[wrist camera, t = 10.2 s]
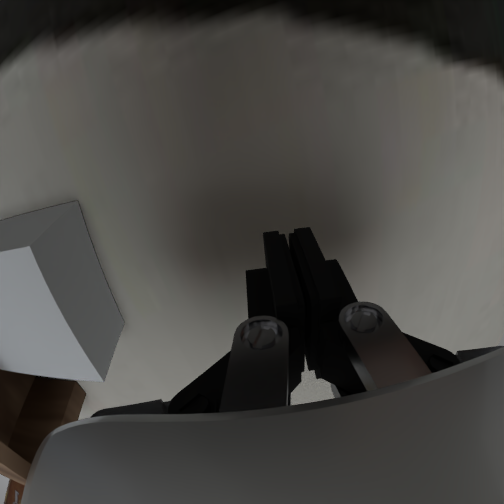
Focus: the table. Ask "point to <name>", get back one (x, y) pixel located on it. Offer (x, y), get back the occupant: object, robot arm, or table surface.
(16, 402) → the overhang cubby
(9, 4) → the table surface
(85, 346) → the white rectangular block
